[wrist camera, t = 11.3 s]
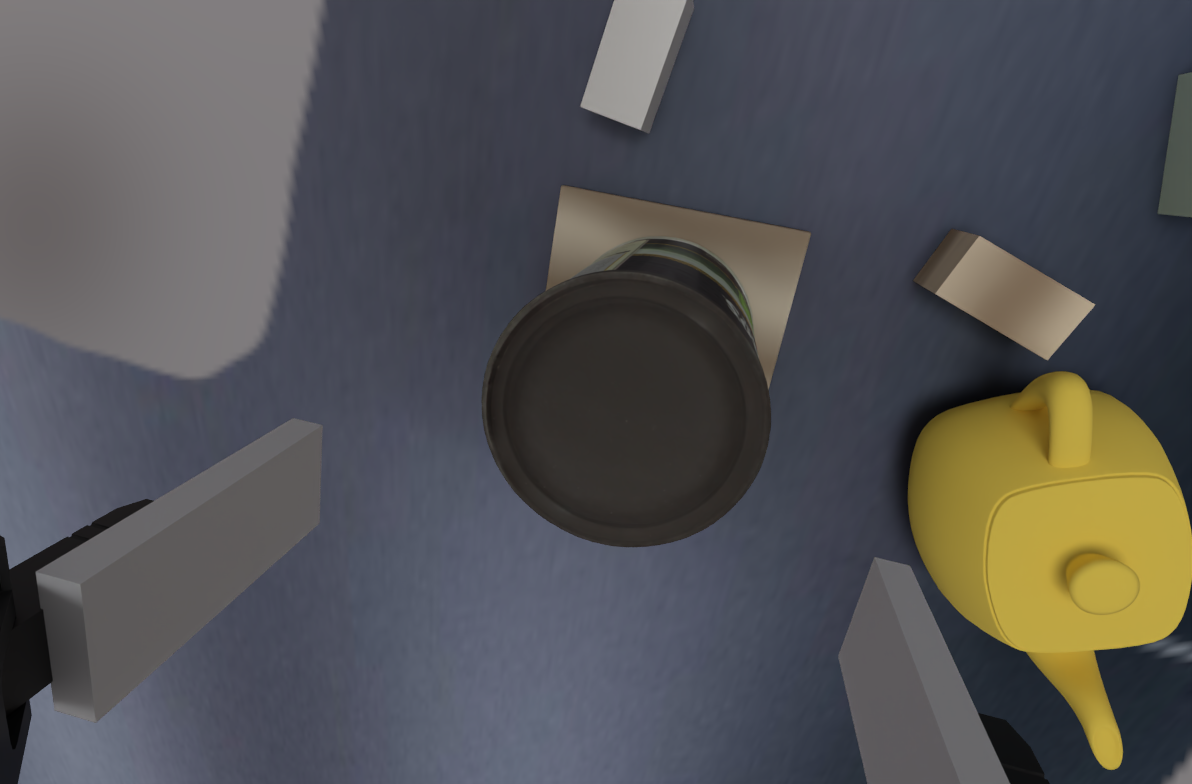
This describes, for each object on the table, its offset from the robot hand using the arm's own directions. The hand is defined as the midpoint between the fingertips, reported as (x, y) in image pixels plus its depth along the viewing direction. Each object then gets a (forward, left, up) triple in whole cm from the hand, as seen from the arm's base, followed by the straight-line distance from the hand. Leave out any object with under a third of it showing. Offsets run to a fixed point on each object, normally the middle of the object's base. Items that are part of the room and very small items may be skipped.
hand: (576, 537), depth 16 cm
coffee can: (0, 0, -23) cm, 23 cm away
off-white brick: (-13, -4, -24) cm, 27 cm away
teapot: (+5, +20, -24) cm, 32 cm away
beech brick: (-5, +15, -24) cm, 29 cm away
